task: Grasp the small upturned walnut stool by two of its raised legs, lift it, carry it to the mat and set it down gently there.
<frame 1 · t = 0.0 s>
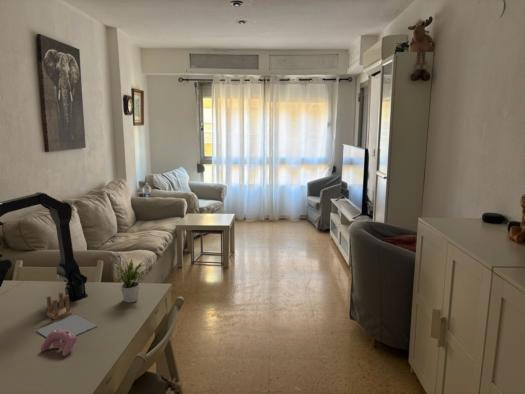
video game controller: (59, 350, 122), on the table
mat: (67, 328, 135), on the table
stool: (59, 314, 146), on the table
house plant: (133, 300, 158), on the table
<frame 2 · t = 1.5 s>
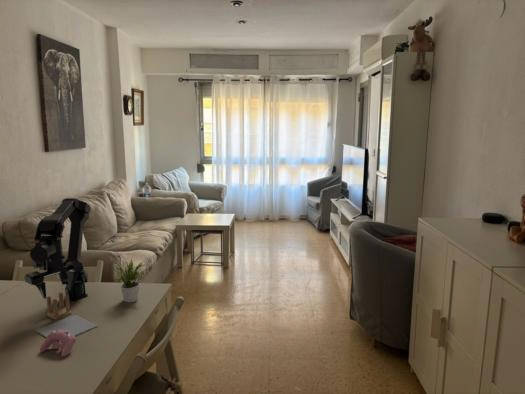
hand: (57, 294, 145), 8 cm above the table, tool pointing down, fingers open, 9 cm apart
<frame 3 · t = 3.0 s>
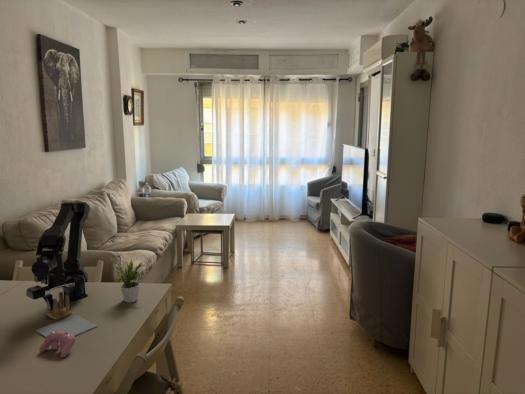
hand: (58, 307, 145), 3 cm above the table, tool pointing down, fingers closed on stool, 5 cm apart
stool: (59, 314, 146), on the table, touching gripper
everything else where it was.
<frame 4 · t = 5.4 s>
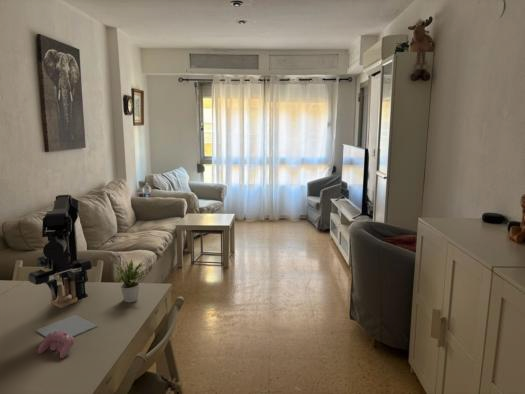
hand: (63, 295, 133), 12 cm above the table, tool pointing down, fingers closed on stool, 5 cm apart
stool: (64, 302, 134), point 10 cm above the table, touching gripper
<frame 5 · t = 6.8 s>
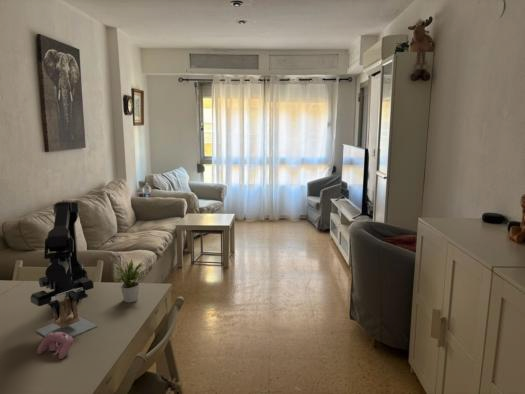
hand: (65, 314, 134), 5 cm above the table, tool pointing down, fingers closed on stool, 5 cm apart
stool: (66, 321, 135), point 3 cm above the table, touching gripper
when the fingers open (4 cm above the table, at t = 8.0 s): stool stays where it is, resting on mat.
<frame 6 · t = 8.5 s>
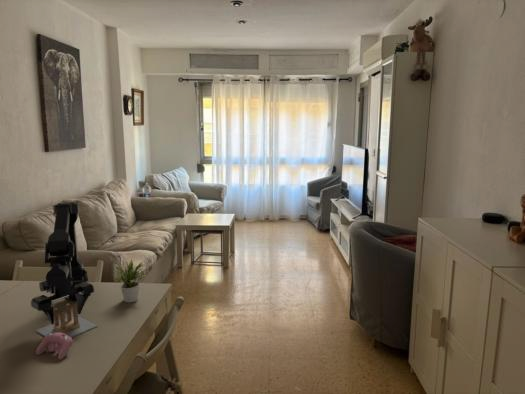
hand: (66, 319, 135), 4 cm above the table, tool pointing down, fingers open, 9 cm apart
stool: (67, 327, 135), resting on mat
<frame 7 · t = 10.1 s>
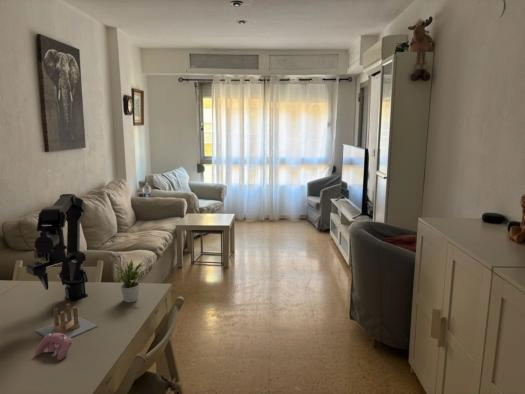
hand: (59, 285, 142), 12 cm above the table, tool pointing down, fingers open, 9 cm apart
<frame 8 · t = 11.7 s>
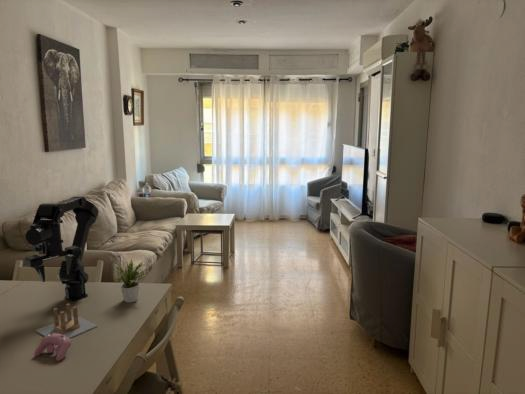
hand: (56, 278, 148), 13 cm above the table, tool pointing down, fingers open, 9 cm apart
at the end: stool inside the target area on the mat (0.1 cm from its centre), point 0.4 cm above the mat's base; stool tilted 0°; the gripper is holding nothing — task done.
